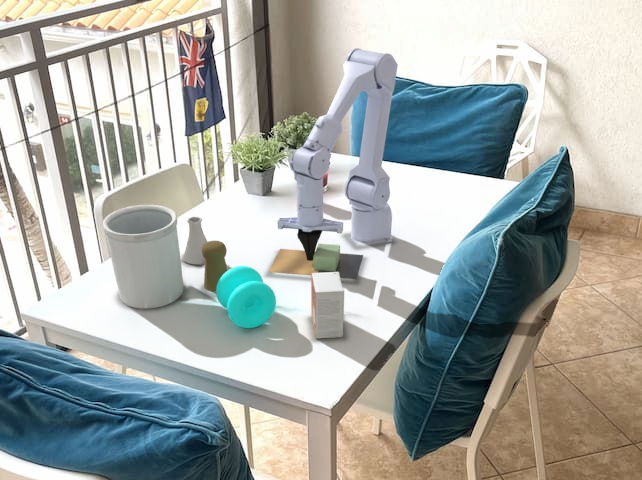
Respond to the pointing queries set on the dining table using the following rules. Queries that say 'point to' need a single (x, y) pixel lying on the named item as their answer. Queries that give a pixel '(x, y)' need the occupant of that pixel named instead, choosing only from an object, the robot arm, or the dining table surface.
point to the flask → (195, 242)
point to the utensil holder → (145, 255)
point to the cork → (214, 263)
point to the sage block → (326, 257)
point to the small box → (327, 304)
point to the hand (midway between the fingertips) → (310, 258)
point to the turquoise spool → (246, 297)
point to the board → (300, 265)
